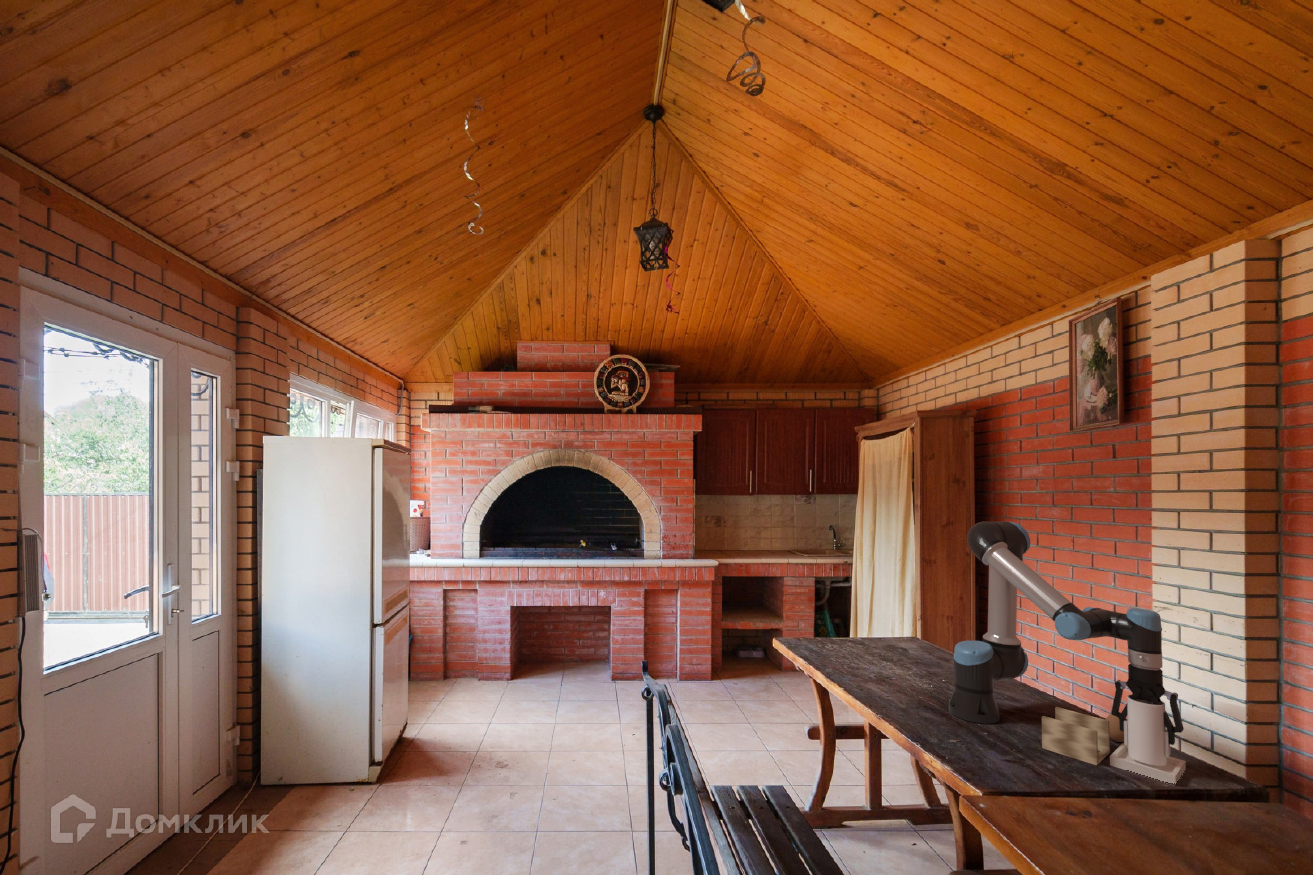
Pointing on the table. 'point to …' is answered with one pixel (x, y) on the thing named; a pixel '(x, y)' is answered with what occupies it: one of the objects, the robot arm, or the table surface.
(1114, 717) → the egg
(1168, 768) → the tray
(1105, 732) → the holder
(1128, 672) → the robot arm
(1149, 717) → the cup
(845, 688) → the table surface
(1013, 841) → the table surface
